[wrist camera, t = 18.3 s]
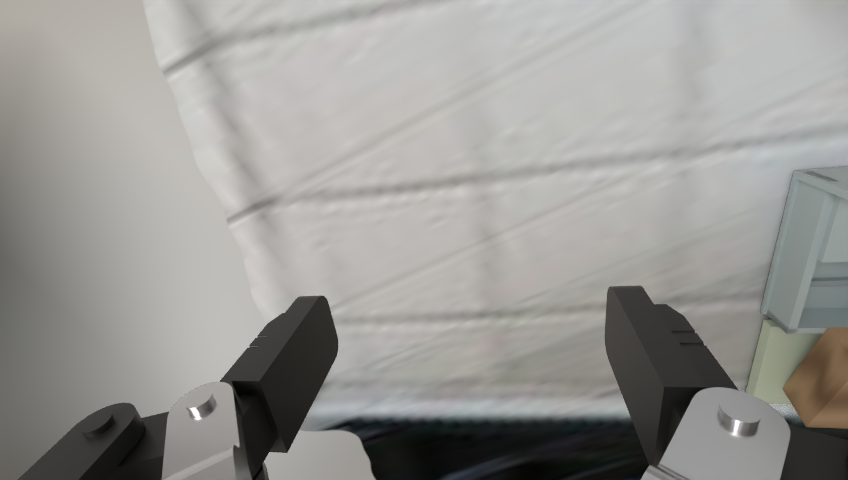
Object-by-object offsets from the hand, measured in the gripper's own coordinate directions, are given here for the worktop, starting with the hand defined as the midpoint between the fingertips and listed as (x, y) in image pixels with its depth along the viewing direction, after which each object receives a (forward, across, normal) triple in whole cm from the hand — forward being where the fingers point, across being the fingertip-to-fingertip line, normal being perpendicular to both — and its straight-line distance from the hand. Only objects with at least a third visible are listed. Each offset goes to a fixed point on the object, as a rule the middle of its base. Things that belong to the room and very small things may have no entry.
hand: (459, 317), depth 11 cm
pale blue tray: (+28, -30, +12) cm, 43 cm away
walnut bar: (+26, -31, +24) cm, 47 cm away
